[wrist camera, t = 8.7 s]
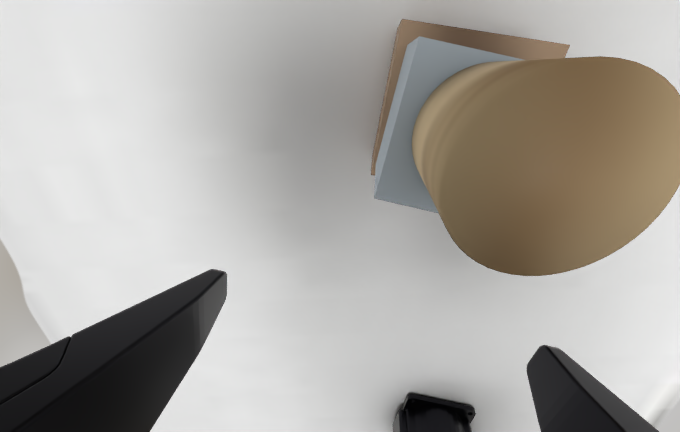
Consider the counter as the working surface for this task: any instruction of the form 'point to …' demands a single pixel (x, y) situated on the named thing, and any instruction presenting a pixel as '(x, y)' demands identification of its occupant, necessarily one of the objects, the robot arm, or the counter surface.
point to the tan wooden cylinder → (549, 159)
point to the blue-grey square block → (410, 94)
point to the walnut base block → (462, 37)
